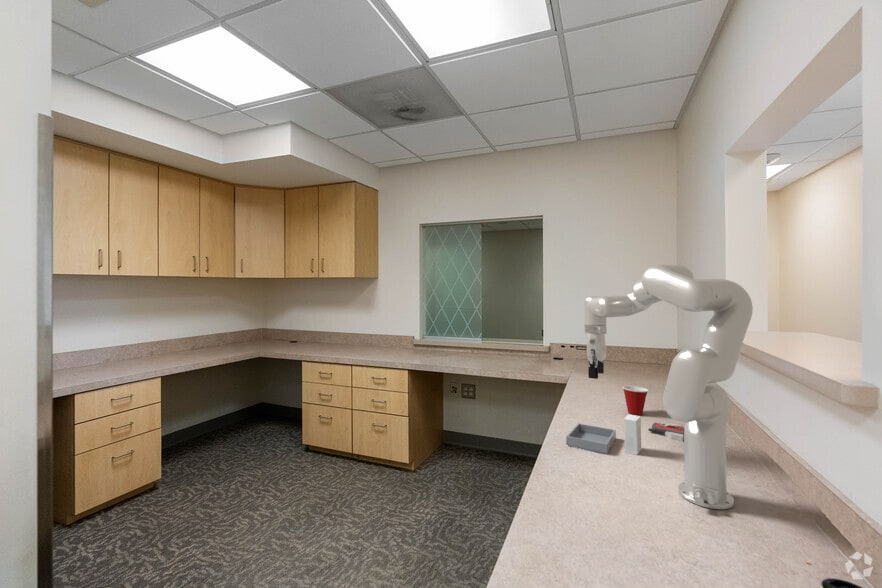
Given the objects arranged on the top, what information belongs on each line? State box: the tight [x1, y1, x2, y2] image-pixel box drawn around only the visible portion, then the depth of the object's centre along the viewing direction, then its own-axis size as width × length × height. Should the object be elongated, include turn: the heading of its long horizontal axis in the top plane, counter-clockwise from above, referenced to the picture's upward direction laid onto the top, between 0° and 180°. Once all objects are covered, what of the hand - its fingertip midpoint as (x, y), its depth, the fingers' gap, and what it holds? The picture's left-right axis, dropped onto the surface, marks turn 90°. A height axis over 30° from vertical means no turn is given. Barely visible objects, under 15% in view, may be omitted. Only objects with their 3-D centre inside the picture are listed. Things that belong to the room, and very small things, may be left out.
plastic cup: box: [622, 385, 650, 417], centre depth 173 cm, size 11×11×12 cm
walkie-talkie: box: [648, 422, 685, 442], centre depth 146 cm, size 9×4×20 cm
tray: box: [565, 423, 617, 456], centre depth 142 cm, size 16×14×4 cm
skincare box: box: [623, 413, 642, 456], centre depth 134 cm, size 6×4×12 cm
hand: (596, 375), depth 141 cm, fingers open, 9 cm apart
